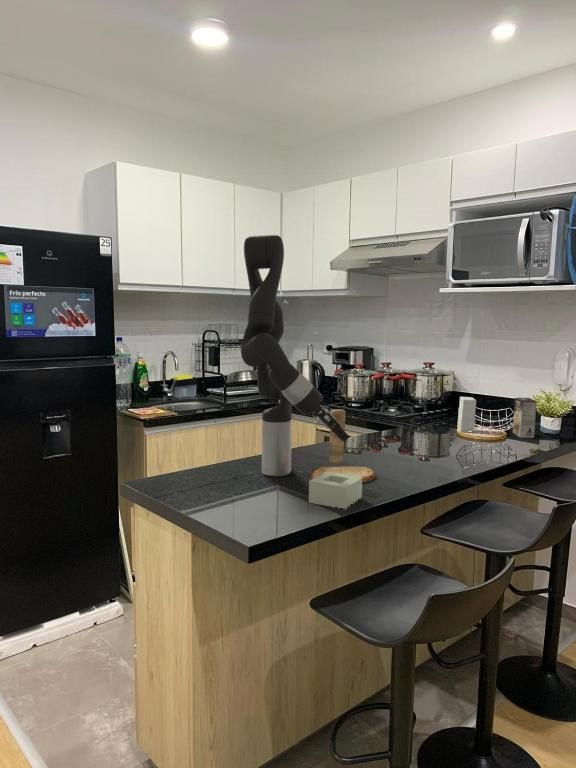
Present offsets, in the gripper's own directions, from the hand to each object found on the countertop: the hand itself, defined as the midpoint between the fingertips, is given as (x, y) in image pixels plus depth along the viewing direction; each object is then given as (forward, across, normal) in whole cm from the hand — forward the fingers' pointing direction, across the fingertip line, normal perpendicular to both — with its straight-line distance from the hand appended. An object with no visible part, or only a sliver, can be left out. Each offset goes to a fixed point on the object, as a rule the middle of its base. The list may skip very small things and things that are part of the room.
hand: (343, 437), depth 157 cm
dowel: (+3, 0, +6) cm, 7 cm away
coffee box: (+84, +74, -60) cm, 127 cm away
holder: (+11, 0, +14) cm, 18 cm away
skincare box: (+70, +86, -46) cm, 120 cm away
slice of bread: (+17, +21, +8) cm, 28 cm away
